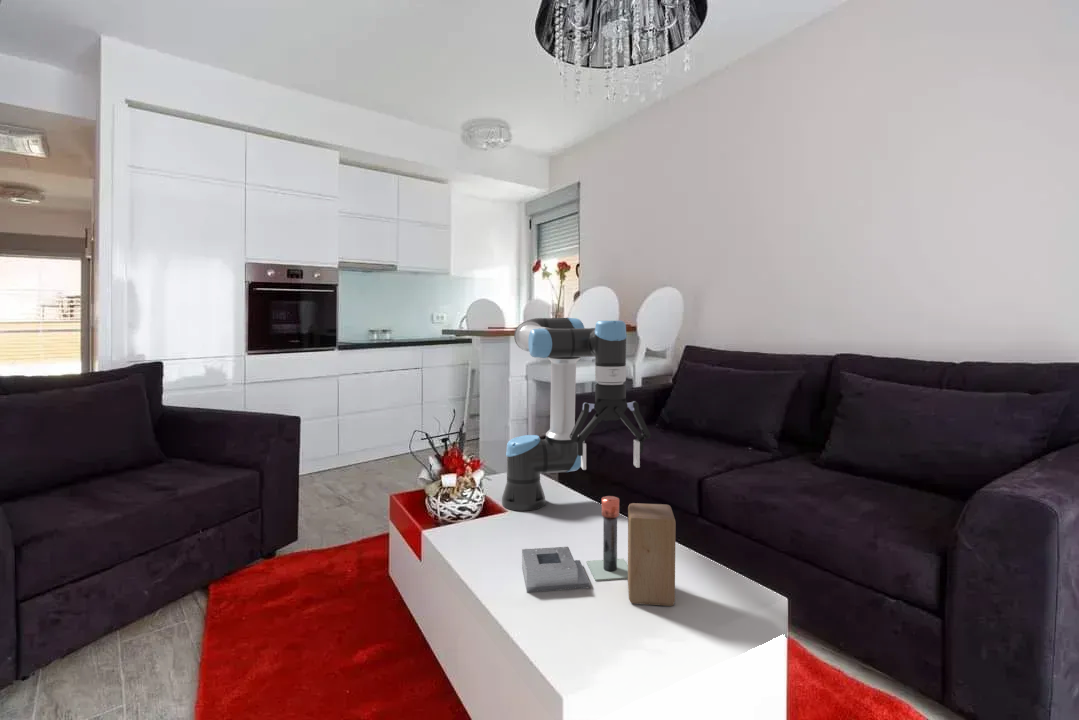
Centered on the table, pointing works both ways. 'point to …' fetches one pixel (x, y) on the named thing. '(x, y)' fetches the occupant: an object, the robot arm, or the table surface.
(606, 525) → the red capped rod
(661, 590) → the wooden block
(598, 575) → the mat
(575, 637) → the table surface
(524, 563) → the grey hollow block
